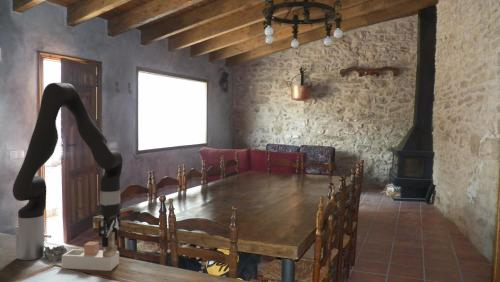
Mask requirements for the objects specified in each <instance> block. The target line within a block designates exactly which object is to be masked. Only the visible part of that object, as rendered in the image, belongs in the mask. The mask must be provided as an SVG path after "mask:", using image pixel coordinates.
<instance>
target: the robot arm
mask: <svg viewBox="0 0 500 282" xmlns="http://www.w3.org/2000/svg"><path fill="white" fill-rule="evenodd" d="M39 105H40V106H39V111H38V115H37V118H36V121H35V126H34V129H33V131H32V134H31V137H30V141H29V142H28V147H27V151H26V153H25V156H24V159H23V162H22V164H21V167H20V169H19V171H18V174H17V175H16V178H15V180H14V182H13V186H12V196H13V198H14V199H15V200H16V201H18V202H23V201H24V202H26V201H28V202H27V203H26V204H25V205H24V206H23V207H20V209H18V211H17V212H18V213H17V221H18V222H17V225H18V226H17V229H18V230H17V231H18V233H17V234H16V236H15V258H16V259H18V260H19V261H20V260H21V261H31V260H32V261H33V260H38V259H41V258H43V257H45V256H44V251H45V247H44V246H45V214H44V213H45V209H46V203H47V184H46V183H47V182H46V181H45V179H44V178H43V177H42V176H38V175H36V174H37V173H38V171H39V170H40V169H41V168H42V167H43V166H44V165H45V164H46V163H47V162H48V160H49V159H51V157H52V156H53V154H54V153H55V150H56V147H57V144H58V141H59V133H58V127H57V118H58V114H59V111H60V110H61V108H62V107H63V108H67V110H69V112H71V114H72V115H73V117H74V119H75V123H76V128H77V131H78V134H79V136H80V138H81V139H82V140H83V142H84V143H85V144H86V146H87V147H88V148H89V149H90V152H91V154H92V157H93V159H94V161H95V163H96V164H97V166H98V167H100V169H102V170H104V173H103V175H102V176H101V178H100V184H99V185H100V187H99V188H100V190H99V191H100V192H99V214H100V216H102V218H103V220H99V221H98V238H101V246H102V247H103V248H106V247H108V235H109V232H115V241H117V240H119V231H120V228H122V227H121V226H122V220H121V219H122V216H121V191H120V189H121V187H120V184H121V183H120V180H121V179H120V178H121V174H122V170H123V156H122V154H121V153H120V152H119V151H118V150H114V149H112V150H110V149H109V147H108V145H107V143H108V141H107V138H106V136H105V135H104V134H103V133H102V132H101V130H100V128H99V127H98V126H97V125H96V123H95V121H94V119H92V117H91V115H90V113H89V111H88V109H87V107H86V106H85V103H84V102H83V100H82V98H81V97H80V95H79V92H78V90H77V89H76V88H75V87H74V85H73V84H71V83H67V82H52V83H48V84H47V85H46V86H45V87H44V89H43V92H42V96H41V101H40V104H39Z"/></svg>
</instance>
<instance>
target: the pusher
mask: <svg viewBox="0 0 500 282" xmlns="http://www.w3.org/2000/svg"><path fill="white" fill-rule="evenodd" d="M115 241H116V240H115V232H112V231H111V232H109V235H108V247H104V249H103V257H111V256H113V255H114V254H115V253H116V252H117V251H118V245H115Z"/></svg>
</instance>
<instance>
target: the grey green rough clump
mask: <svg viewBox="0 0 500 282" xmlns="http://www.w3.org/2000/svg"><path fill="white" fill-rule="evenodd" d="M67 252H68V249H67V248H66V247H65V245H57V246H53V247H52V248H50V246H45V245H44V256H43V257H45V258H46V259H47V260H48V261H49V262H57V261H58V260H62V255H63V254H65V253H67Z"/></svg>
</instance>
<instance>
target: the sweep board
mask: <svg viewBox="0 0 500 282" xmlns="http://www.w3.org/2000/svg"><path fill="white" fill-rule="evenodd" d="M103 250H104V249H103ZM103 250H101V249H99V252H98V253H97V254H95V255H84V248H83V249H79V248H71V249H70V250H69V251H67V253H65V254H63V255H62V259H61V269H71V270H72V269H73V270H91V271H107V272H110V271H113V270H114V268H116V267H117V266H118V265H119V264H120V251H119V250H117V252H116V253H115V254H114V255H113V256H111V257H103Z"/></svg>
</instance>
